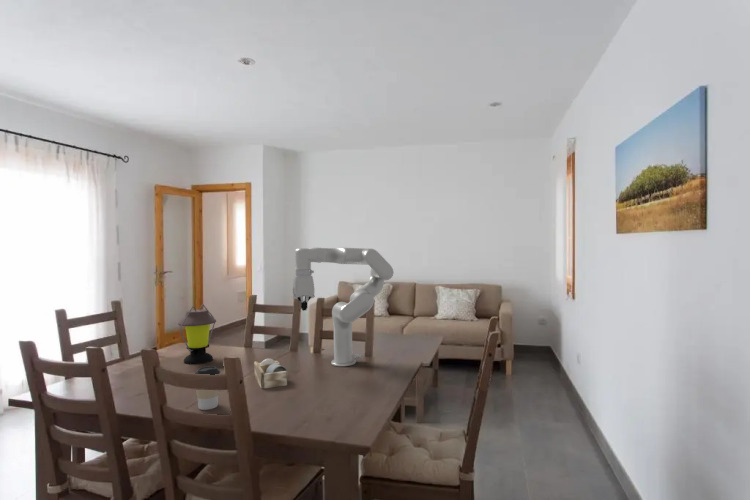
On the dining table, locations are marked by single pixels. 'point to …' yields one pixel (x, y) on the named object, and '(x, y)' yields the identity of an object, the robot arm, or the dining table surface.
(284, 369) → the ceramic mug
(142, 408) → the dining table surface
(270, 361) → the white plate
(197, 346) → the lantern
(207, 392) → the coffee cup
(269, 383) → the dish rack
